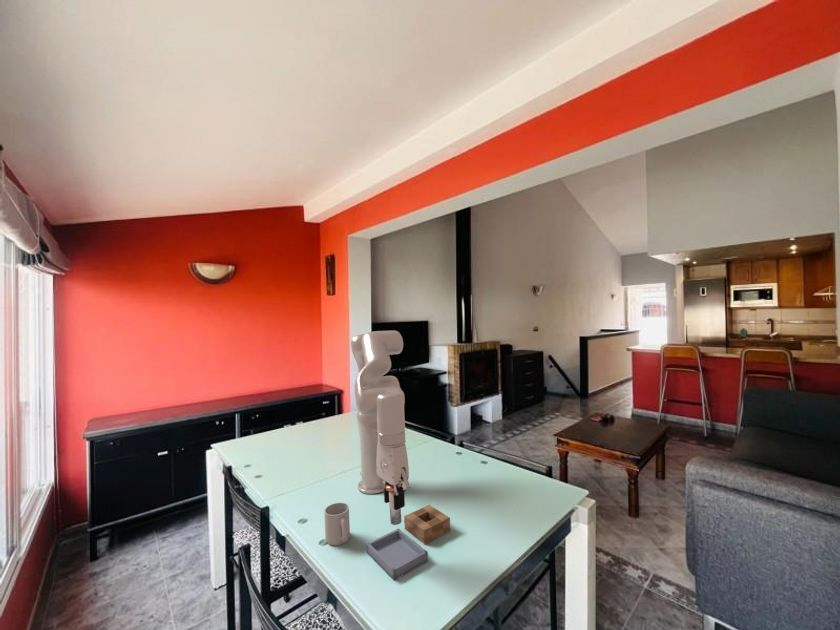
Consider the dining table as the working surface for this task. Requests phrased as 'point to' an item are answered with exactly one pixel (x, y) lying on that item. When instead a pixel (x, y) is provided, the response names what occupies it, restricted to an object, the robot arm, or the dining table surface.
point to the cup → (337, 523)
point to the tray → (396, 553)
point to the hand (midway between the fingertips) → (394, 503)
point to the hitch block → (427, 524)
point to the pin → (394, 514)
